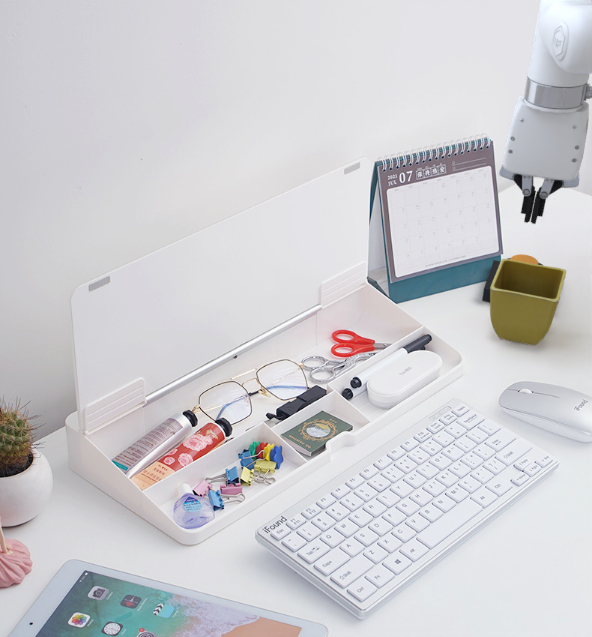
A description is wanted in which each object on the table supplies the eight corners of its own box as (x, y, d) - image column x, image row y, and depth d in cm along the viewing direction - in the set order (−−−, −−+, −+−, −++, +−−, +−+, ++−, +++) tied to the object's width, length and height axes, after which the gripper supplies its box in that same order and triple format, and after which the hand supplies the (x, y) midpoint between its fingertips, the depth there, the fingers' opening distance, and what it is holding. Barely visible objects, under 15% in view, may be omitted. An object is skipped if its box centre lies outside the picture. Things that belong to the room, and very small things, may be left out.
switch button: (537, 267, 119) (539, 257, 118) (534, 280, 116) (536, 269, 115) (510, 262, 120) (512, 252, 119) (506, 275, 117) (508, 264, 116)
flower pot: (480, 343, 109) (489, 287, 104) (493, 310, 116) (502, 256, 111) (546, 358, 106) (558, 301, 101) (555, 323, 113) (567, 269, 108)
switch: (554, 283, 122) (558, 260, 120) (547, 313, 115) (552, 289, 113) (491, 271, 125) (495, 249, 123) (481, 300, 118) (485, 277, 116)
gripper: (616, 90, 104) (587, 216, 115) (501, 77, 108) (482, 199, 119) (614, 109, 98) (583, 240, 109) (492, 94, 103) (473, 221, 113)
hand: (530, 218), depth 114 cm, fingers closed
